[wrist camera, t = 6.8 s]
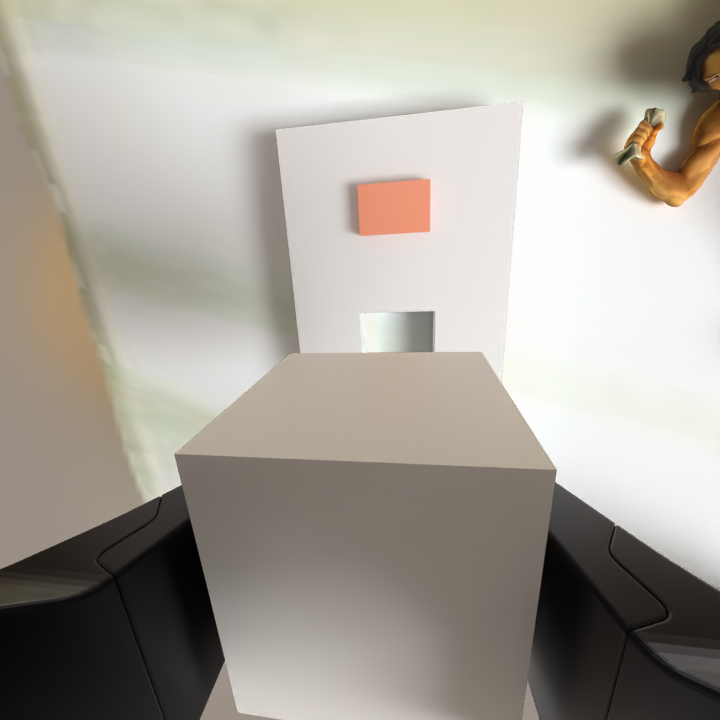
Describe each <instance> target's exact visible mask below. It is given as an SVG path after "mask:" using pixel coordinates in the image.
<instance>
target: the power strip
mask: <svg viewBox="0 0 720 720" xmlns="http://www.w3.org/2000/svg"><path fill="white" fill-rule="evenodd" d="M523 102H524V101H522V102H514V103H505V104H496V105H487V106H478V107H470V108H461V109H452V110H443V111H434V112H425V113H417V114H408V115H399V116H390V117H381V118H372V119H364V120H355V121H346V122H337V123H328V124H319V125H311V126H302V127H293V128H284V129H275V130H276V139H277V148H278V157H279V166H280V175H281V184H282V193H283V202H284V211H285V220H286V229H287V238H288V247H289V256H290V266H291V275H292V284H293V293H294V302H295V311H296V320H297V329H298V338H299V347H300V353H367V340H366V320H365V313H381V312H419V311H433V352H482V353H483V355H484V356H485V358H486V360H487V361H488V363H489V364H490V366H491V367H492V369H493V371H494V372H495V374H496V375H497V377H498V378H499V380H500V382H501V383H502V373H503V360H504V347H505V334H506V321H507V308H508V295H509V282H510V269H511V257H512V244H513V231H514V218H515V205H516V192H517V179H518V166H519V153H520V140H521V127H522V114H523Z"/></svg>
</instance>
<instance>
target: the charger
mask: <svg viewBox="0 0 720 720" xmlns="http://www.w3.org/2000/svg"><path fill="white" fill-rule="evenodd" d="M174 455H175V459H176V463H177V467H178V471H179V475H180V479H181V483H182V487H183V491H184V495H185V499H186V503H187V507H188V511H189V515H190V519H191V523H192V528H193V532H194V536H195V540H196V544H197V548H198V552H199V556H200V560H201V564H202V568H203V572H204V576H205V580H206V584H207V588H208V592H209V596H210V601H211V605H212V609H213V613H214V617H215V621H216V625H217V629H218V633H219V637H220V641H221V645H222V649H223V653H224V657H225V661H226V665H227V669H228V673H229V678H230V682H231V685H232V690H233V693H234V698H235V701H236V706H237V710H238V712H239V713H245V714H251V715H257V716H263V717H269V718H275V719H281V720H522V714H523V707H524V700H525V693H526V686H527V678H528V671H529V664H530V657H531V650H532V643H533V636H534V628H535V621H536V614H537V607H538V600H539V593H540V585H541V578H542V571H543V564H544V557H545V550H546V542H547V535H548V528H549V521H550V514H551V507H552V499H553V492H554V485H555V478H556V471H557V470H556V468H555V466H554V465H553V463H552V462H551V460H550V459H549V457H548V455H547V454H546V452H545V451H544V449H543V448H542V446H541V444H540V443H539V441H538V440H537V438H536V437H535V435H534V433H533V432H532V430H531V429H530V427H529V426H528V424H527V422H526V421H525V419H524V418H523V416H522V415H521V413H520V411H519V410H518V408H517V407H516V405H515V404H514V402H513V400H512V399H511V397H510V396H509V394H508V393H507V391H506V389H505V388H504V386H503V385H502V383H501V382H500V380H499V378H498V377H497V375H496V374H495V372H494V371H493V369H492V367H491V366H490V364H489V363H488V361H487V360H486V358H485V356H484V355H483V353H482V352H382V353H290V354H289V355H288V356H287V357H286V358H285V359H283V360H282V361H281V362H280V363H279V364H278V365H276V366H275V367H274V368H273V369H272V370H271V371H270V372H268V373H267V374H266V375H265V376H264V377H263V378H261V379H260V380H259V381H258V382H257V383H256V384H255V385H253V386H252V387H251V388H250V389H249V390H248V391H246V392H245V393H244V394H243V395H242V396H241V397H240V398H238V399H237V400H236V401H235V402H234V403H233V404H231V405H230V406H229V407H228V408H227V409H226V410H224V411H223V412H222V413H221V414H220V415H219V416H218V417H216V418H215V419H214V420H213V421H212V422H211V423H209V424H208V425H207V426H206V427H205V428H204V429H203V430H201V431H200V432H199V433H198V434H197V435H196V436H194V437H193V438H192V439H191V440H190V441H189V442H188V443H186V444H185V445H184V446H183V447H182V448H181V449H179V450H178V451H177V452H176V453H175V454H174Z"/></svg>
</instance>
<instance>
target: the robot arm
mask: <svg viewBox="0 0 720 720" xmlns="http://www.w3.org/2000/svg"><path fill="white" fill-rule="evenodd" d="M224 661H225V657H224V653H223V649H222V645H221V641H220V637H219V633H218V629H217V625H216V621H215V617H214V613H213V609H212V605H211V601H210V596H209V592H208V588H207V584H206V580H205V576H204V572H203V568H202V564H201V560H200V556H199V552H198V548H197V544H196V540H195V536H194V532H193V528H192V523H191V519H190V515H189V511H188V507H187V503H186V499H185V495H184V491H183V487H182V485H181V486H179V487H177V488H175V489H173V490H171V491H169V492H167V493H165V494H163V495H162V498H161V497H157V498H155V499H153V500H151V501H149V502H147V503H145V504H143V505H141V506H139V507H137V508H135V509H133V510H131V511H129V512H127V513H125V514H123V515H121V516H119V517H117V518H114V519H112V520H110V521H108V522H106V523H103V524H102V525H100V526H97V527H95V528H93V529H90V530H88V531H86V532H84V533H82V534H79V535H77V536H75V537H72V538H70V539H68V540H66V541H64V542H61V543H59V544H57V545H55V546H52V547H50V548H48V549H46V550H43V551H41V552H39V553H37V554H34V555H32V556H30V557H28V558H25V559H23V560H21V561H19V562H16V563H14V564H12V565H9V566H7V567H4V568H2V569H0V720H200V718H201V715H202V713H203V710H204V708H205V706H206V703H207V701H208V699H209V696H210V694H211V692H212V689H213V687H214V685H215V682H216V680H217V678H218V675H219V673H220V671H221V668H222V666H223V663H224ZM528 682H529V685H530V689H531V692H532V696H533V699H534V702H535V706H536V709H537V713H538V716H539V720H720V591H719V590H717V589H716V588H714V587H712V586H711V585H709V584H707V583H706V582H704V581H703V580H701V579H699V578H698V577H696V576H695V575H693V574H691V573H690V572H688V571H687V570H685V569H683V568H682V567H680V566H678V565H677V564H675V563H674V562H672V561H670V560H669V559H667V558H666V557H664V556H663V555H661V554H660V553H658V552H657V551H655V550H654V549H652V548H651V547H649V546H648V545H646V544H645V543H643V542H642V541H640V540H639V539H637V538H636V537H634V536H633V535H631V534H630V533H628V532H627V531H626V530H624V529H623V528H621V527H620V526H615V523H614V522H612V521H611V520H609V519H608V518H607V517H605V516H604V515H602V514H601V513H599V512H598V511H596V510H595V509H593V508H592V507H591V506H589V505H588V504H586V503H585V502H583V501H582V500H580V499H579V498H578V497H576V496H575V495H573V494H572V493H570V492H569V491H567V490H566V489H564V488H563V487H562V486H560V485H559V484H557V483H556V482H555V485H554V492H553V499H552V507H551V514H550V521H549V528H548V535H547V542H546V550H545V557H544V564H543V571H542V578H541V585H540V593H539V600H538V607H537V614H536V621H535V628H534V636H533V643H532V650H531V657H530V664H529V671H528Z"/></svg>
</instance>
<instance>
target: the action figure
mask: <svg viewBox="0 0 720 720" xmlns="http://www.w3.org/2000/svg"><path fill="white" fill-rule="evenodd" d="M682 81H688V83H689V86H690V87H691V92H692V93H694V92H717V93H719V92H720V21H718V22H716V23H715V24H714V25H713V26H712V27H710V28H709V29H708V30H707V32H706V35H705V36H703V37H702V38H701V40H700V41H699V42H698V43H696V44H695V45H694V46H693V47H692V49H691V51H690V53H689V56H688V62H687V66H686V74H685V76H684V78H683V79H682ZM665 115H666V114H665V112H664V109H657V108H653V109H647V110H646V112H645V118H644V120H643V121H641V122H640V124H639V125H638V127H637V128H636V130H635V131H634V132H633V133H632V134H631V135H630V137H629V138H628V139H627V142H626V144H625V146H624V150H622V151H621V152H619V153H617V154H616V155H615V156H614V161H615V163H616V164H617V165H618V166H623V165H624V164H626V163H627V162H628V161H630V162H631V164H632V166H633V168H634V169H635V171H636V172H637V174H638V175H639V176H640V177H641V178H642V179H643V181H644V182H645V183H646V184H647V185H648V187H649V189H650V191H651V192H652V193H653V195H654V196H656V197H658V198H660V199H661V200H663V201H664V202H665V203H666V204H667V205H669V206H671V207H678V206H680V205H681V204H682V203H683V202H684V201H685V200H686V199H688V198H689V197H691V196H692V195H694V193H695V192H696V191H697V190H698V189H699V188H700V187H701V185H702V183H703V181H704V180H705V179H706V177H707V176H708V174H709V173H710V172H711V170H712V168H713V167H714V166H715V164H716V163H717V161H718V159H719V157H720V99H719V100H718V101H717V102H716V103H715V104H714V105H713V106H712V107H710V108H709V109H708V110H707V111H706V112H705V113H703V115H702V116H701V118H700V120H699V121H698V124H697V125H696V127H695V129H694V133H693V135H692V149H693V151H692V152H691V153H690V154H689V155H688V157H687V158H686V159H685V160H684V161H683V163H682V165H681V168H680V169H679V170H677V171H670V170H666V169H663V168H661V167H660V166H659V165H658V164H657V163H656V162H655V161H654V160H653V159H652V158H651V155H650V150H651V148H652V146H653V145H654V142H655V138H656V135H657V133H658V131H659V130H660V129H662V128H663V127H664V125H663V124H664V121H665Z"/></svg>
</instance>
